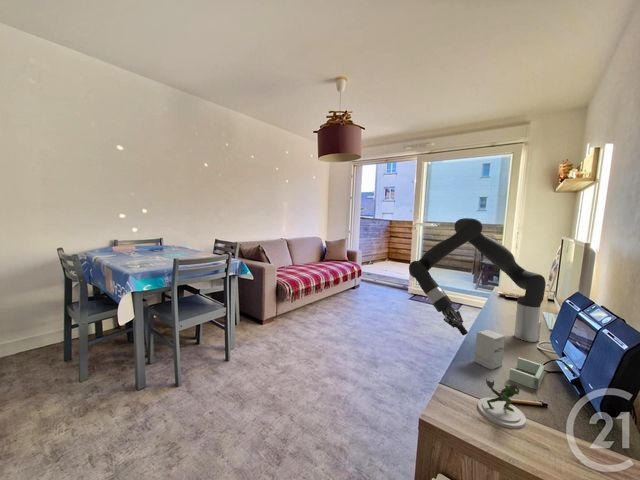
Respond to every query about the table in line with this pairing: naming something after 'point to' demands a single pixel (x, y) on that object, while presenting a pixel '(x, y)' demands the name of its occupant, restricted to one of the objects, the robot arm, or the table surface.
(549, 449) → the table surface
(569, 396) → the table surface
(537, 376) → the holder
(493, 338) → the supplement box
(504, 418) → the monster figurine
